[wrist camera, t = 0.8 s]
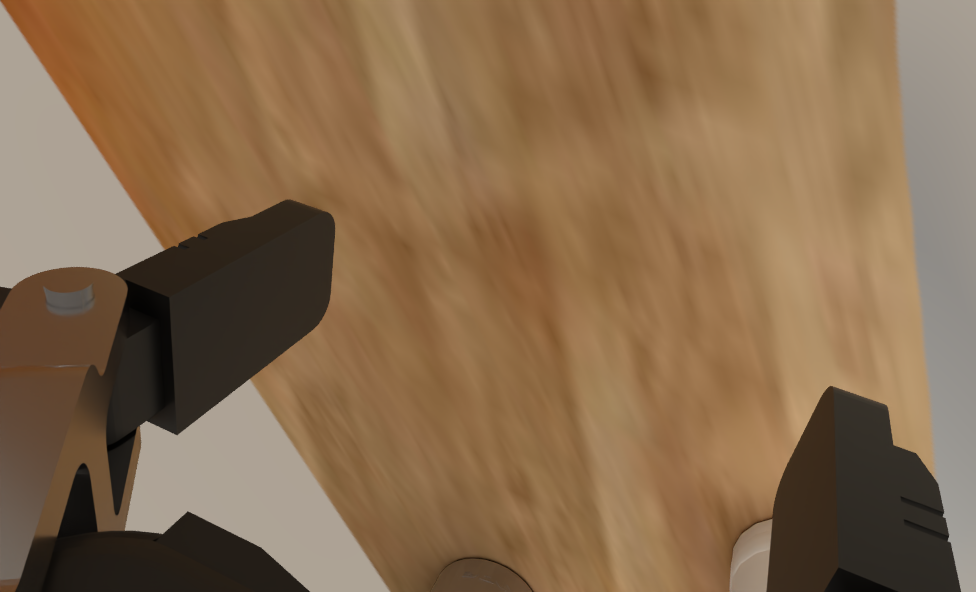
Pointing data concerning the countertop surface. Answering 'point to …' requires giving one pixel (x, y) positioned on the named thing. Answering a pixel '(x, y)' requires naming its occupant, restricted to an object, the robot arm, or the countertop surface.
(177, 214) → the countertop surface
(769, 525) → the bottle
